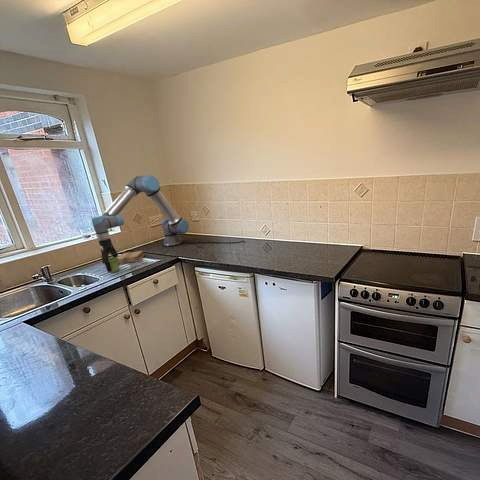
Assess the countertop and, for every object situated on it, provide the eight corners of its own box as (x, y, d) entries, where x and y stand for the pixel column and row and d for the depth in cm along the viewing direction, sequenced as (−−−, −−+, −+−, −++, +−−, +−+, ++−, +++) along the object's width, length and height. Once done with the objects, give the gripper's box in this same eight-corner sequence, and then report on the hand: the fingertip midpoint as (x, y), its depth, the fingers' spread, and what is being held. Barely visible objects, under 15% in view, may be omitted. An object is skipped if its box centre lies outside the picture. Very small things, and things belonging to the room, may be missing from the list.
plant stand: (144, 255, 241) (143, 250, 239) (138, 261, 226) (137, 256, 224) (124, 258, 239) (123, 253, 238) (117, 264, 225) (115, 259, 223)
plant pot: (110, 269, 214) (107, 258, 211) (124, 267, 215) (120, 256, 211) (105, 274, 205) (100, 262, 202) (118, 272, 206) (114, 260, 203)
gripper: (106, 235, 213) (114, 263, 221) (90, 244, 190) (100, 275, 197) (116, 234, 213) (125, 262, 221) (102, 242, 190) (112, 273, 198)
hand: (113, 268), depth 209 cm, fingers open, 13 cm apart
